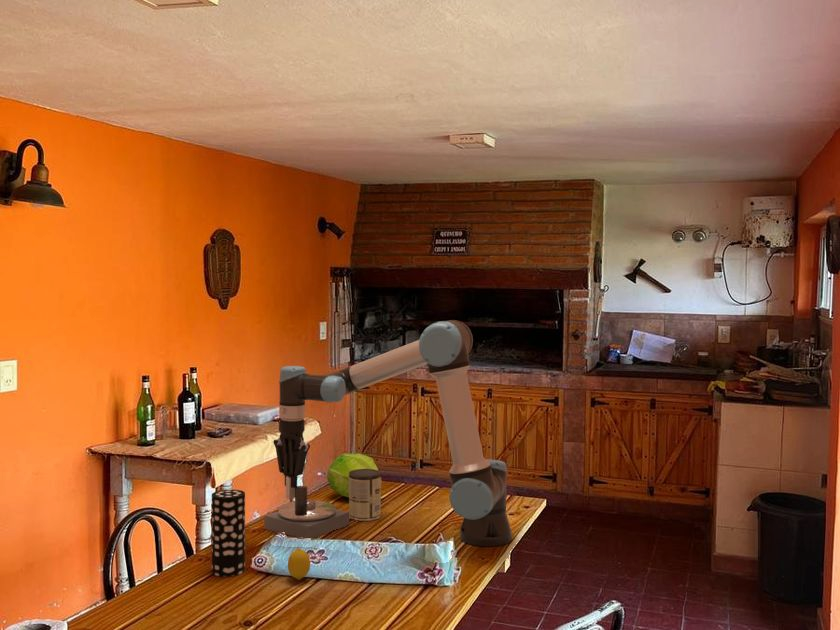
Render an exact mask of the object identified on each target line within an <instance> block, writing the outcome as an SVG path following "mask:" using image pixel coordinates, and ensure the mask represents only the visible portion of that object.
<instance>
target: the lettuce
mask: <svg viewBox="0 0 840 630" xmlns="http://www.w3.org/2000/svg"><path fill="white" fill-rule="evenodd" d="M357 469H375V470H379V469H378V466H377V464H375V461H374V459H373V457H370V456H368V455H365V454H363V453H359V452H358V453H357V452H356V453H350V452H349V453H348V452H345V453H342V454H340V455H338V456H337V457H336V458H335V460H334V461H333V462H332V464H330V466H329V467H328V470H327V475H326V478H327V481H328V484H329V486H330V488H331V489H332V491H334V492H335V493H336V494H338V495H339V496H342V497H345V498H348V499H349V472H350V471H352V470H357ZM382 482H383V481H382V480H381V485H382Z"/></svg>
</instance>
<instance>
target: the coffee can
mask: <svg viewBox="0 0 840 630" xmlns="http://www.w3.org/2000/svg"><path fill="white" fill-rule="evenodd" d="M381 481H382V471H380V470H379V469H378V470H375V469H357V470H352V471H350V472H349V498H348V512H349V519H351V520H353V519H354V521H358V520H359V521H360V522H367V521H375V520H378V519H380V518H381V517H382V514H381V513H382V512H381V510H382V508H381V507H382V504H381V503H382V501H381V498H382V494H381V492H382V491H381V490H382V484H381ZM359 521H358V522H359Z"/></svg>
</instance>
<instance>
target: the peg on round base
mask: <svg viewBox="0 0 840 630" xmlns="http://www.w3.org/2000/svg"><path fill="white" fill-rule="evenodd" d="M335 509H336V506H335V505H334V504H333V503H331V502H328V501H324V500H314V499H310V498H308V486H306V485H297V486H296V487H295V497H294V501H291V502H290V501H289V502H287V503H286V502H285V503H284V504H282V505H280V506H279V508H278V511H279V516H280V517H282V518H284V519H287V520H292V521H317V520H322V519H326V518H329V517H332V516H333V515H334V514H335Z"/></svg>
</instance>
